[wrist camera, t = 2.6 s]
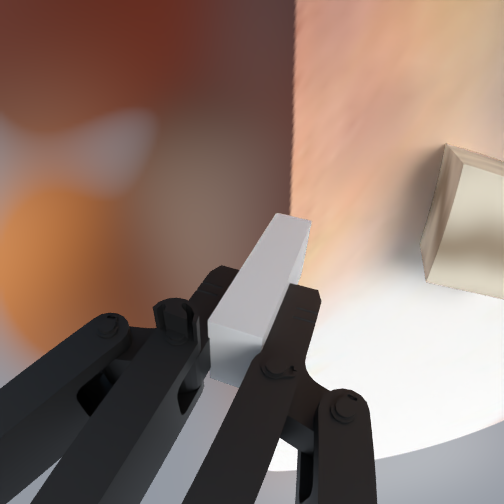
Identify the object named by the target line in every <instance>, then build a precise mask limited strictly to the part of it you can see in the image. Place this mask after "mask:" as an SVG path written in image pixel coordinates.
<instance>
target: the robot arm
mask: <svg viewBox="0 0 504 504" xmlns="http://www.w3.org/2000/svg"><path fill="white" fill-rule="evenodd" d="M311 222H312V221H310V220H305V219H301V218H297V217H293V216H288V215H284V214H280V213H276V214H275V216H274V217H273V219H272V221H271V222H270V224H269V225H268V227H267V228H266V230H265V232H264V233H263V235H262V236H261V238H260V239H259V241H258V243H257V244H256V246H255V248H254V249H253V250H252V252H251V253H250V255H249V257H248V258H247V260H246V261H245V263H244V264H243V266H242V268H241V269H240V270H237V269H233V268H229V267H226V266H219V267H218V268H216V269H214V270H212V271H211V272H210V273H209V274H208V275H207V277H206V278H205V279H204V281H203V283H201V285H200V286H199V287H198V289H197V291H195V293H194V294H193V295H192V297H191V298H190V299H189V301H188V300H186V299H181V298H169V299H166V300H163V301H160V302H158V303H157V304H156V305H155V306H154V307H153V311H154V316H155V322H156V327H157V328H139V327H130V326H129V324H128V321H127V320H126V319H125V318H124V317H123V316H121V315H119V314H116V313H106V314H101V315H99V316H98V317H96V318H94V319H93V320H91V321H90V322H89V323H87V324H86V325H84V326H83V327H82V328H80V329H79V330H77V331H76V332H75V333H73V334H72V335H71V336H69V337H68V338H66V339H65V340H64V341H62V342H61V343H60V344H58V345H57V346H56V347H55V348H53V349H52V350H50V351H49V352H48V353H46V354H45V355H44V356H42V357H41V358H40V359H38V360H37V361H36V362H34V363H33V364H32V365H30V366H29V367H28V368H26V369H25V370H24V371H22V372H21V373H20V374H19V375H17V376H16V377H15V378H14V379H12V380H11V381H9V382H8V383H7V384H6V385H4V386H3V387H2V388H1V389H0V504H6V503H7V502H9V501H10V500H11V499H12V498H13V497H15V496H16V495H17V494H19V493H20V492H21V491H22V490H23V489H25V488H26V487H27V486H28V485H29V484H30V483H32V482H33V481H34V480H35V479H37V478H38V477H39V476H40V475H41V474H42V473H44V472H45V471H46V470H47V469H48V468H49V467H51V466H52V465H53V464H54V463H55V462H57V461H58V460H59V459H60V458H61V457H62V456H63V457H62V458H61V459H60V461H59V462H58V464H57V465H56V467H55V468H54V470H53V471H52V472H51V474H50V475H49V477H48V478H47V480H46V481H45V483H44V484H43V486H42V487H41V489H40V490H39V492H38V493H37V495H36V496H35V497H34V499H33V500H32V502H31V503H30V504H140V502H141V500H142V499H143V497H144V495H145V494H146V492H147V490H148V488H149V487H150V485H151V483H152V481H153V480H154V478H155V476H156V474H157V473H158V471H159V469H160V467H161V466H162V464H163V462H164V460H165V458H166V457H167V455H168V453H169V451H170V450H171V448H172V446H173V444H174V442H175V441H176V439H177V437H178V435H179V433H180V432H181V430H182V428H183V426H184V424H185V423H186V421H187V419H188V417H189V415H190V414H191V412H192V410H193V408H194V406H195V404H196V402H197V401H198V399H199V397H200V395H201V393H202V391H203V388H204V378H205V377H206V375H207V373H208V371H209V370H210V378H212V379H215V380H218V381H221V382H224V383H226V384H229V385H232V386H235V387H238V388H239V390H238V392H237V394H236V396H235V398H234V400H233V402H232V404H231V406H230V408H229V411H228V413H227V415H226V417H225V419H224V421H223V423H222V425H221V427H220V429H219V431H218V433H217V435H216V438H215V439H214V441H213V443H212V445H211V447H210V449H209V452H208V454H207V456H206V457H205V459H204V461H203V463H202V465H201V467H200V469H199V471H198V473H197V475H196V477H195V479H194V481H193V483H192V485H191V487H190V489H189V491H188V493H187V495H186V496H185V498H184V500H183V502H182V504H254V502H255V500H256V498H257V495H258V493H259V490H260V488H261V485H262V483H263V480H264V478H265V475H266V472H267V470H268V467H269V465H270V462H271V459H272V457H273V454H274V451H275V449H276V446H277V443H278V441H279V438H281V439H283V440H284V441H286V442H287V443H289V444H290V445H292V446H293V447H295V448H296V449H298V459H297V481H296V501H295V504H377V491H376V475H375V462H374V449H373V439H372V429H371V420H370V411H369V408H368V405H367V402H366V401H365V400H364V399H363V397H362V396H361V395H359V394H358V393H356V392H354V391H352V390H348V389H336V390H332V391H329V390H328V389H326V388H324V387H322V386H321V385H319V384H318V383H317V382H315V381H314V380H313V379H312V378H311V377H310V375H309V374H308V372H307V370H306V366H305V359H306V355H307V351H308V348H309V344H310V341H311V337H312V334H313V330H314V327H315V323H316V320H317V316H318V312H319V308H320V305H321V299H320V295H319V292H318V290H315V289H311V288H307V287H304V286H300V285H297V284H298V281H299V279H300V276H301V273H302V268H303V263H304V258H305V253H306V248H307V243H308V238H309V232H310V227H311Z"/></svg>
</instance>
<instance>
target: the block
mask: <svg viewBox="0 0 504 504" xmlns="http://www.w3.org/2000/svg"><path fill="white" fill-rule="evenodd" d="M420 248H421V254H422V260H423V266H424V272H425V279H426V282H427V283H431V284H436V285H441V286H445V287H450V288H454V289H459V290H463V291H468V292H472V293H477V294H481V295H486V296H490V297H495V298H499V299H504V161H501V160H498V159H495V158H492V157H489V156H486V155H483V154H480V153H477V152H474V151H470V150H467V149H464V148H460V147H457V146H454V145H450V144H447V143H446V145H445V150H444V154H443V159H442V164H441V168H440V173H439V177H438V181H437V185H436V189H435V193H434V197H433V201H432V204H431V208H430V212H429V215H428V219H427V222H426V226H425V229H424V232H423V235H422V239H421V242H420Z"/></svg>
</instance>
